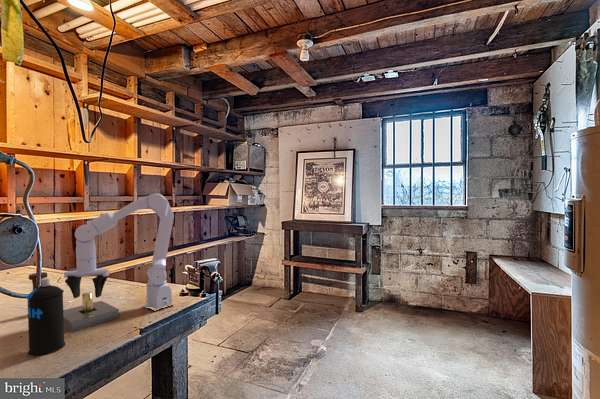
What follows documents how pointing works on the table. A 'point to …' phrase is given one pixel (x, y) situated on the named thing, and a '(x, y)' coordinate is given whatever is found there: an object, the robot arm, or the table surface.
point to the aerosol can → (45, 319)
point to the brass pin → (87, 302)
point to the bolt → (34, 276)
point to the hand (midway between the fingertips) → (87, 296)
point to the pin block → (89, 316)
